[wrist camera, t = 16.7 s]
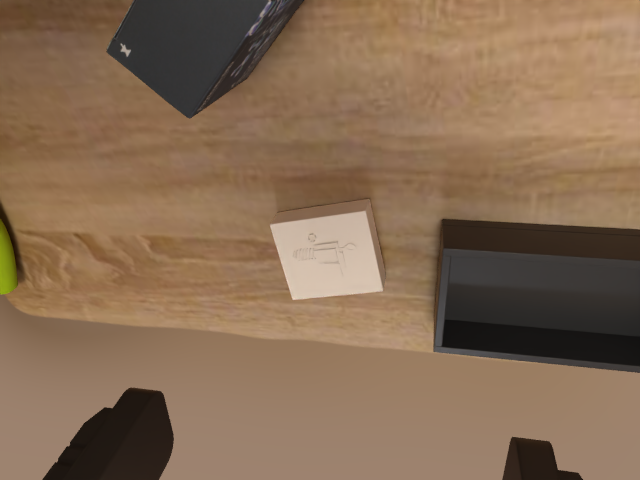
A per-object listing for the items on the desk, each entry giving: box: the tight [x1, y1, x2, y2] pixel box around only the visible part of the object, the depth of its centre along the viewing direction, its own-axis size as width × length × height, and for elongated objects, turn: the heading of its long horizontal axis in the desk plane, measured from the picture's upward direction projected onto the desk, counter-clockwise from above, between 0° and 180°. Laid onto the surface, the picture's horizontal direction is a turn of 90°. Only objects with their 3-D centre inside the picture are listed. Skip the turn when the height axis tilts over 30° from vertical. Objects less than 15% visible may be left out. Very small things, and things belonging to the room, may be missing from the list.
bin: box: [434, 219, 640, 373], centre depth 38 cm, size 9×17×4 cm, turn 91°
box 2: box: [270, 199, 386, 300], centre depth 39 cm, size 20×11×3 cm, turn 13°
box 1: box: [107, 0, 304, 118], centre depth 30 cm, size 8×6×11 cm
